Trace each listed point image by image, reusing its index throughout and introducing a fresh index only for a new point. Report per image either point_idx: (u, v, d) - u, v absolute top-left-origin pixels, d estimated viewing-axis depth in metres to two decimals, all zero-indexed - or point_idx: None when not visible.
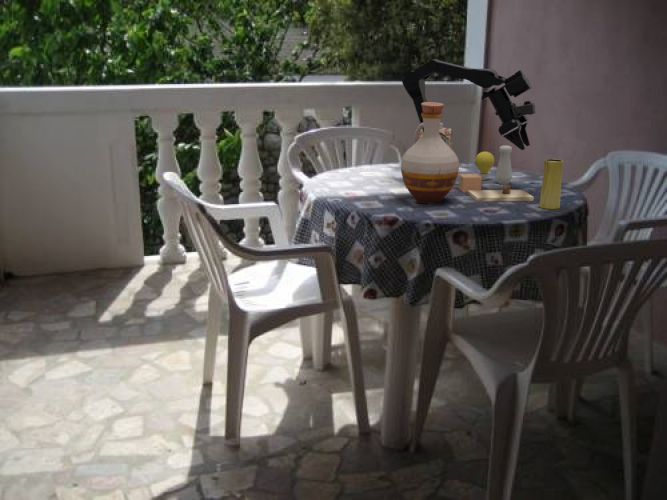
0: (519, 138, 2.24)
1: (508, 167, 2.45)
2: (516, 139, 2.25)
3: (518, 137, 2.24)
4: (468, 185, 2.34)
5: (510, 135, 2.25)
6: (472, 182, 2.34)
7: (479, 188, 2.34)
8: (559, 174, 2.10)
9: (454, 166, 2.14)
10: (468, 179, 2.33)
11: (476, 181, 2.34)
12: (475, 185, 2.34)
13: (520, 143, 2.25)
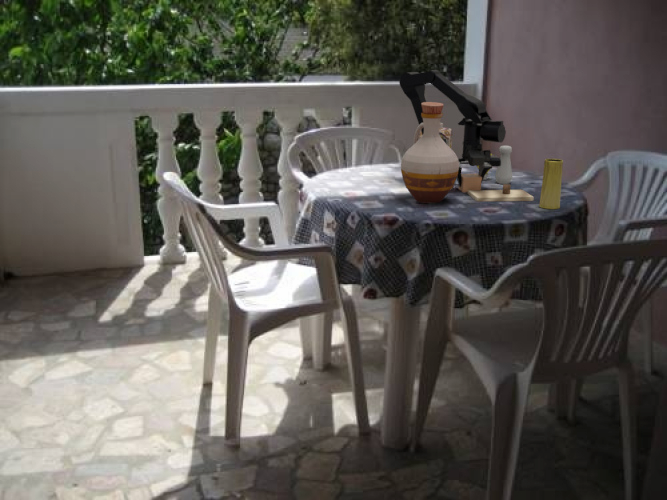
0: (457, 176, 2.35)
1: (508, 167, 2.45)
2: (457, 175, 2.36)
3: None
4: (468, 185, 2.34)
5: None
6: (472, 182, 2.34)
7: (479, 188, 2.34)
8: (559, 174, 2.10)
9: (454, 166, 2.14)
10: (468, 179, 2.33)
11: (476, 181, 2.34)
12: (475, 185, 2.34)
13: (458, 180, 2.36)
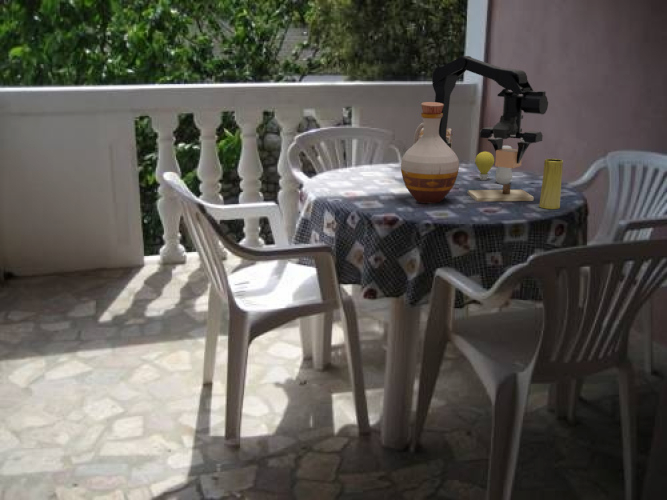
0: None
1: None
2: None
3: None
4: (500, 159, 2.23)
5: None
6: (504, 157, 2.22)
7: (511, 164, 2.21)
8: (559, 174, 2.10)
9: (454, 166, 2.14)
10: (500, 153, 2.22)
11: (508, 156, 2.21)
12: (507, 160, 2.21)
13: None
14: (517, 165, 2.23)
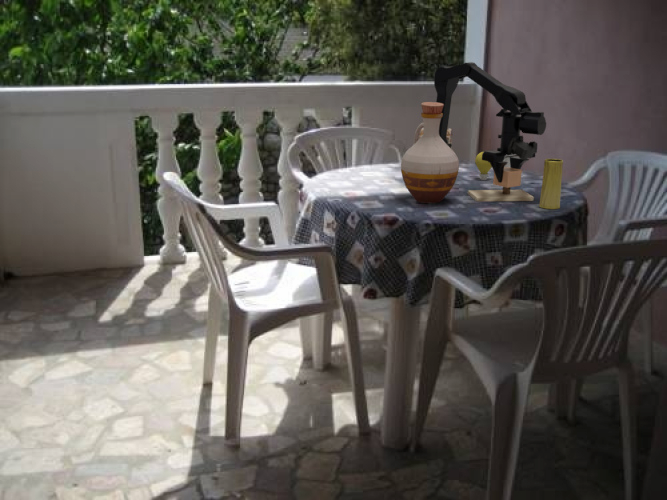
0: (499, 171, 2.22)
1: None
2: (497, 170, 2.23)
3: (499, 170, 2.22)
4: (511, 179, 2.23)
5: (495, 163, 2.23)
6: (514, 176, 2.23)
7: (519, 181, 2.25)
8: (559, 174, 2.10)
9: (454, 166, 2.14)
10: (512, 173, 2.22)
11: (517, 174, 2.24)
12: (517, 179, 2.24)
13: (499, 176, 2.23)
14: None
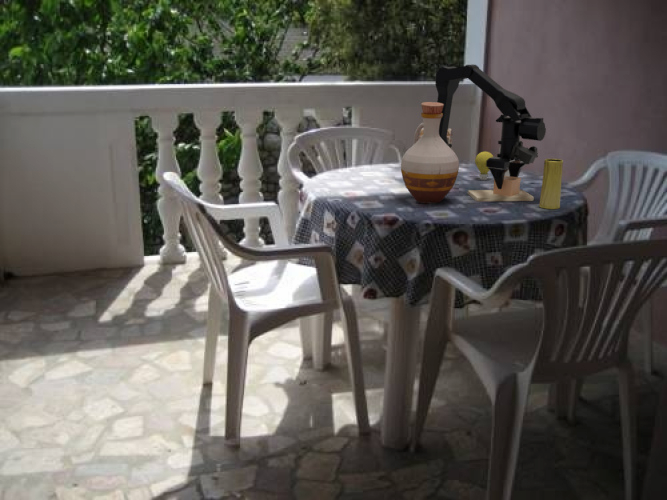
0: (501, 178, 2.21)
1: None
2: (498, 177, 2.21)
3: (500, 176, 2.21)
4: (513, 188, 2.24)
5: (495, 170, 2.21)
6: (515, 184, 2.25)
7: (518, 189, 2.27)
8: (559, 174, 2.10)
9: (454, 166, 2.14)
10: (514, 182, 2.23)
11: (517, 183, 2.25)
12: (517, 187, 2.26)
13: (500, 182, 2.22)
14: None
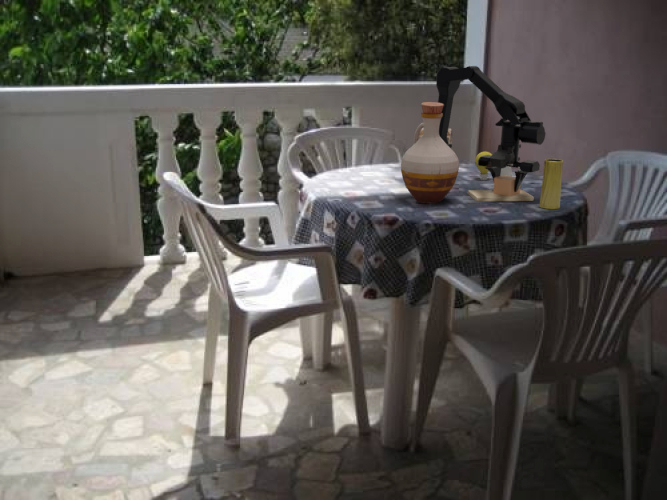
0: None
1: (508, 167, 2.45)
2: None
3: None
4: (513, 188, 2.24)
5: None
6: None
7: (519, 189, 2.27)
8: (559, 174, 2.10)
9: (454, 166, 2.14)
10: (513, 181, 2.23)
11: None
12: None
13: None
14: None
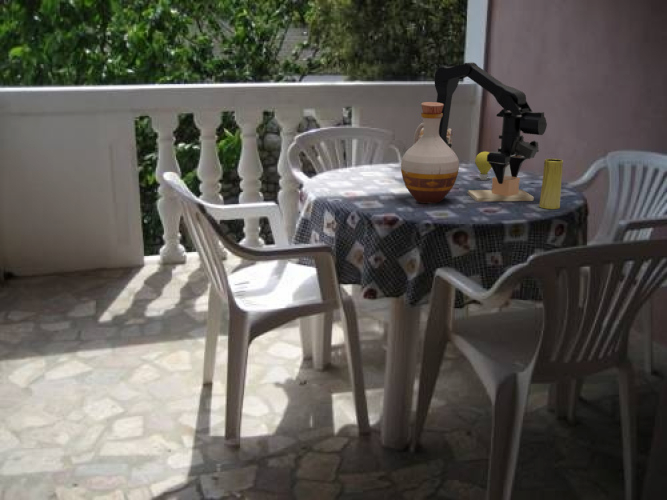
0: (501, 172, 2.20)
1: (508, 167, 2.45)
2: (499, 171, 2.21)
3: (501, 171, 2.20)
4: None
5: (496, 165, 2.21)
6: None
7: None
8: (559, 174, 2.10)
9: (454, 166, 2.14)
10: None
11: None
12: None
13: (500, 177, 2.21)
14: None
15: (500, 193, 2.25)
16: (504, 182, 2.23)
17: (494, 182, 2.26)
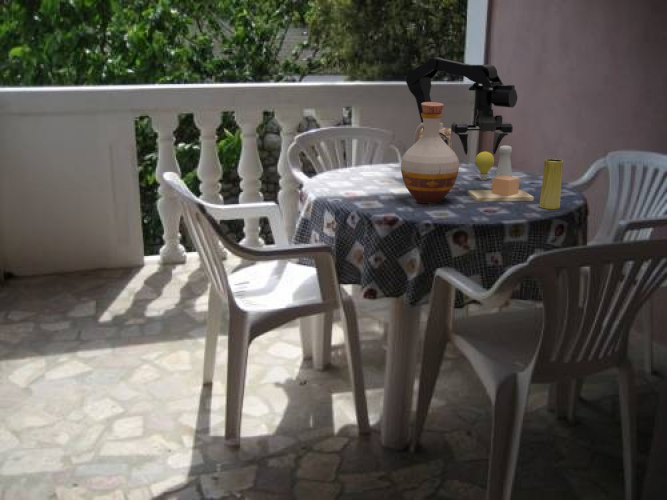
0: (463, 143, 2.29)
1: (508, 167, 2.45)
2: (463, 142, 2.30)
3: (463, 141, 2.29)
4: None
5: (461, 135, 2.30)
6: None
7: None
8: (559, 174, 2.10)
9: (454, 166, 2.14)
10: None
11: None
12: None
13: (464, 148, 2.30)
14: None
15: (500, 193, 2.25)
16: (504, 182, 2.23)
17: (494, 182, 2.26)
